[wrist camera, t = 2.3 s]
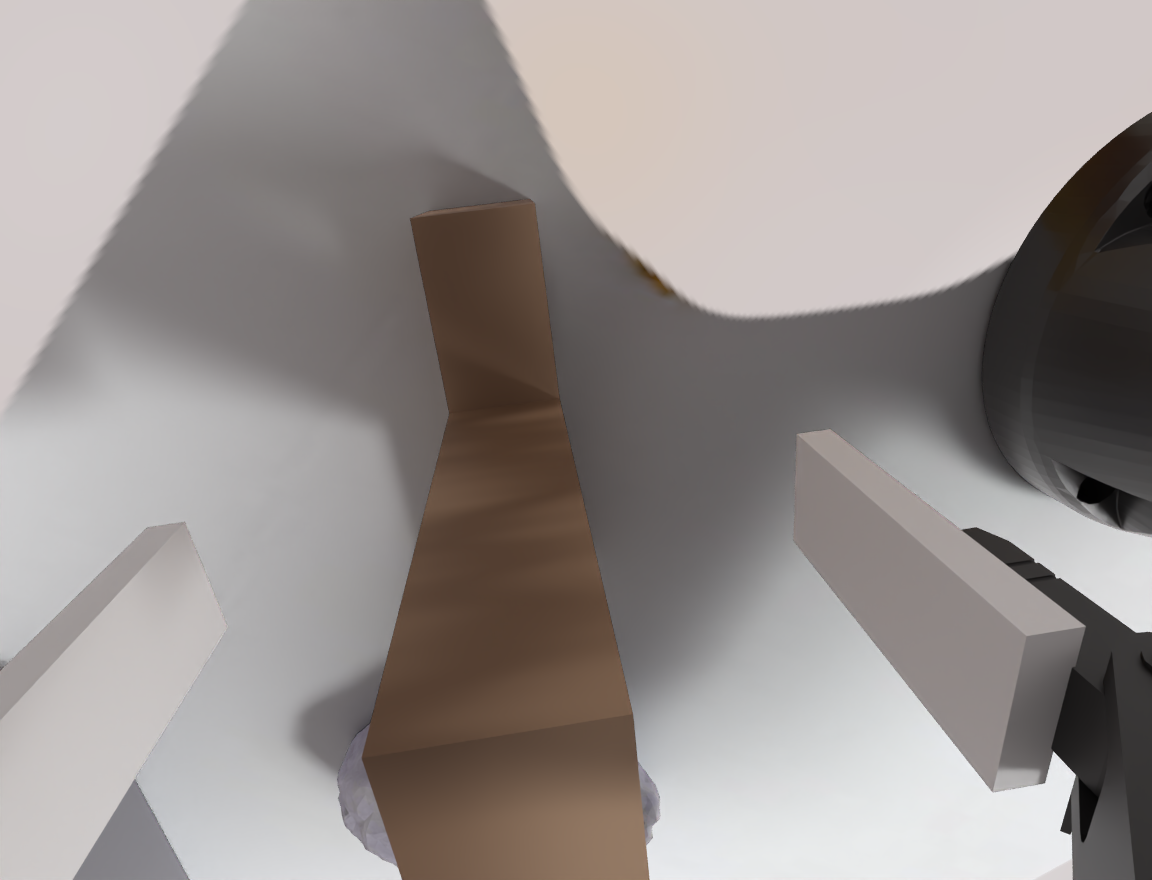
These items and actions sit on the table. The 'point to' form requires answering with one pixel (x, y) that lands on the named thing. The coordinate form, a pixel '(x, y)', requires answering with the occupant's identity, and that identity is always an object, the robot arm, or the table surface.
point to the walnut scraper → (503, 602)
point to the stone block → (367, 819)
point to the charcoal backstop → (132, 846)
